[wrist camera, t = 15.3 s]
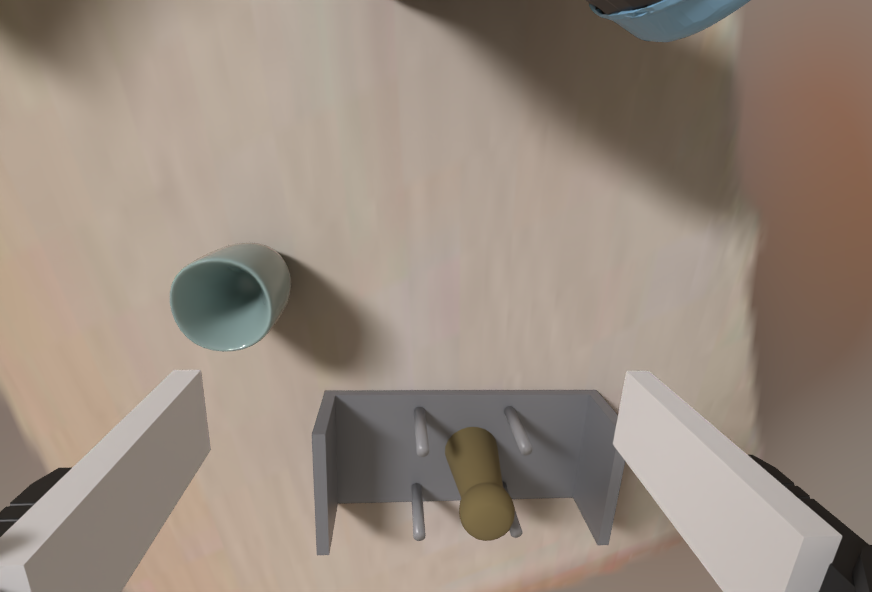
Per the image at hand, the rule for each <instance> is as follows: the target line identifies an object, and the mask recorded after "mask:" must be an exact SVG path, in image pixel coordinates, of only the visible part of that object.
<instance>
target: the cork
mask: <svg viewBox="0 0 872 592" xmlns="http://www.w3.org/2000/svg"><path fill="white" fill-rule="evenodd" d="M445 456H446V459H447V462H448V464H449V467H450V470H451V472H452V475H453V478H454V480H455V483H456V486H457V488H458V491H459V493H460V496H461V501H460V508H459V515H460V519H461V523H462V525H463V527H464V529H465V530H466V531H467V532H468V533H469V534H470V535H471V536H473V537H475V538H476V539H479V540H483V541H487V540H494V539H498V538H500V537H501V536H503V535H505V534H506V533H507V532H508V531H509V530H510V528H511V526H512V524H513V521H514V516H515V508H514V505H513V501H512V498H511V497H510V496H509V494H508V493H507V492H506V490H505V489H504V488H503V483H502V476H501V469H500V462H499V454H498V447H497V443H496V439H495V438H494V436H493V435H492V434H491V433H490V432H488V431H487V430H486V429H483V428H479V427H467V428H464V429H461V430H459V431H457V432H456V433H454V434H453V435H452V436H451V437H450V438H449V439H448V442H447V444H446V446H445Z"/></svg>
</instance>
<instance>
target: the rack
mask: <svg viewBox="0 0 872 592" xmlns="http://www.w3.org/2000/svg"><path fill="white" fill-rule="evenodd" d="M617 419H618V415H617V414H616V413H615V411H614V410H613V409H612V408H611V407H610V405H609V404H608V403H607V402H606V401H605V400H604V398H603V397H602V396H601V395H600V394H599V393H598V391H597V390H398V391H325V392H324V396H323V399H322V402H321V406H320V409H319V412H318V415H317V419H316V422H315V425H314V429H313V432H312V452H313V475H314V499H315V522H316V545H317V555H329V553H330V547H331V541H332V535H333V529H334V523H335V517H336V511H337V505H338V503H376V502H412V514H413V536H414V539H415V540H417V541H421V540H423V539H424V538H425V524H424V511H423V501H456V500H461V496H460V493H459V491H458V488H457V486H456V483H455V480H454V478H453V475H452V472H451V470H450V467H449V464H448V462H447V459H446V456H445V446H446V444H447V442H448V439H449V438H450V437H451V436H452V435H453V434H454V433H456V432H457V431H459V430H461V429H464V428H467V427H479V428H483V429H486V430H487V431H488V432H490V433H491V434H492V435H493V436H494V438H495V439H496V443H497V447H498V454H499V462H500V469H501V476H502V483H503V488H504V489H505V490H506V492H507V493H508V494H509V496H510V497H511V498H512V499H535V498H573V499H574V500H575V502H576V504H577V506H578V508H579V510H580V512H581V514H582V516H583V518H584V520H585V522H586V524H587V526H588V528H589V530H590V531H591V533H592V535H593V537H594V539H595V541H596V543H597V545H609V540H610V535H611V530H612V525H613V520H614V515H615V510H616V505H617V500H618V495H619V490H620V485H621V480H622V475H623V470H624V465H625V460H624V459H623V457H622V456H621V455H620V453H619V452H618V451H617V449H616V448H615V447H614V445H613V440H614V435H615V429H616V424H617ZM510 533H511V536H512V537H515V538H517V537H520V536H521V535H522V530H521V527H520V524H519V521H518V518H517V515H516V512H515V516H514V521H513V524H512V526H511V528H510Z"/></svg>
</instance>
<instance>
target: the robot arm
mask: <svg viewBox="0 0 872 592" xmlns="http://www.w3.org/2000/svg"><path fill="white" fill-rule="evenodd" d="M586 1H587V2H589V7H590V8H591V10H592V11H593V12H594V13H595V14H597V15H598V16H600V17H602V18H606V19H609V20H613V21H614V22H615V23H617V24H618V25H620V26H621V27H623V28H624V29H626V30H627V31H628V32H630V33H631V34H633V35H634V36H636V37H637V38H639V39H642V40H645V41H654V42H670V41H675V40H678V39H682V38H685V37H688V36H690V35H693V34H695V33H698V32H700V31H702V30H704V29H706V28H708V27H710V26H712V25H713V24H715V23H717V22H718V21H720V20H722V19H723V18H725V17H727V16H728V15H730V14H731V13H733V12H734V11H736V10H737V9H739V8H741V7H742V6H743V5H745V4H746V3H748V2H749V1H750V0H586ZM613 445H614V447H615V448H616V449H617V451H618V452H619V453H620V455H621V456H622V457H623V459H624V460H625V461H626V463H627V464H628V465H629V467H630V468H631V469H632V471H633V472H634V473H635V475H636V476H637V477H638V479H639V480H640V481H641V483H642V484H643V485H644V487H645V488H646V489H647V491H648V492H649V493H650V495H651V496H652V497H653V499H654V500H655V501H656V503H657V504H658V505H659V507H660V508H661V509H662V511H663V512H664V513H665V515H666V516H667V517H668V519H669V520H670V521H671V523H672V524H673V525H674V527H675V528H676V529H677V531H678V532H679V533H680V535H681V536H682V537H683V539H684V540H685V541H686V543H687V544H688V545H689V547H690V548H691V549H692V551H693V552H694V553H695V555H696V556H697V557H698V559H699V560H700V561H701V563H702V564H703V565H704V567H705V568H706V569H707V571H708V572H709V573H710V574H711V576H712V577H713V579H714V580H715V581H716V583H717V584H718V585H719V587H720V588H721V589H722V591H723V592H872V545H869V544H867V543H866V542H865V541H864V540H863V539H861V538H860V537H859V536H858V535H856V534H855V533H854V532H853V531H851V530H850V529H849V528H848V527H847V526H846V525H844V524H843V523H842V522H841V521H840V520H838V519H837V518H836V517H835V516H834V515H832V514H831V513H830V512H829V511H827V510H826V509H825V508H824V507H823V506H821V505H820V504H819V503H818V502H817V501H815V500H814V499H810V497H809V495H808V494H807V493H805V492H804V491H803V490H802V489H801V488H800V487H798V486H795V485H794V483H793V482H792V481H791V480H790V479H789V478H787V477H786V476H785V475H784V474H782V473H781V472H780V471H779V470H778V469H776V468H775V467H773V466H772V465H770V464H768V463H766V462H764V461H763V460H761V459H759V458H757V457H755V456H754V455H747V454H746V453H745V452H744V451H742V450H741V449H740V448H739V447H738V446H737V445H735V444H734V443H733V442H732V441H731V440H729V439H728V438H727V437H726V436H725V435H724V434H722V433H721V432H720V431H719V430H718V429H717V428H715V427H714V426H713V425H712V424H711V423H710V422H708V421H707V420H706V419H705V418H704V417H703V416H701V415H700V414H699V413H698V412H697V411H696V410H694V409H693V408H692V407H691V406H690V405H688V404H687V403H686V402H685V401H684V400H683V399H681V398H680V397H679V396H678V395H677V394H676V393H674V392H673V391H672V390H671V389H670V388H669V387H667V386H666V385H665V384H664V383H663V382H662V381H660V380H659V379H658V378H657V377H656V376H654V375H653V374H652V373H651V372H650V371H626V376H625V381H624V386H623V392H622V397H621V402H620V408H619V413H618V419H617V424H616V429H615V435H614V440H613ZM210 450H211V448H210V440H209V431H208V423H207V415H206V407H205V398H204V390H203V382H202V374H201V370H173V371H172V372H171V373H170V374H169V375H168V376H167V377H166V378H165V379H164V380H163V381H162V382H161V383H160V384H159V385H158V386H157V387H156V388H155V389H154V390H152V391H151V392H150V393H149V394H148V395H147V396H146V397H145V398H144V399H143V400H142V401H141V402H140V403H139V404H138V405H137V406H136V407H135V408H134V409H133V410H132V411H131V412H130V413H129V414H128V415H127V416H126V417H124V418H123V419H122V420H121V421H120V422H119V423H118V424H117V425H116V426H115V427H114V428H113V429H112V430H111V431H110V432H109V433H108V434H107V435H106V436H105V437H104V438H103V439H102V440H101V441H100V442H99V443H98V444H97V445H95V446H94V447H93V448H92V449H91V450H90V451H89V452H88V453H87V454H86V455H85V456H84V457H83V458H82V459H81V460H80V461H79V462H78V463H77V464H76V465H75V466H74V467H73V468H58V469H56V470H54V471H53V472H51V473H49V474H48V475H46V476H44V477H42V478H41V479H39V480H37V481H36V482H34V483H33V484H31V485H30V486H29V487H28V488H26V489H25V490H24V491H23V492H22V493H21V494H20V495H19V496H17V498H15V499H14V500H13V501H12V502H11V503H10V506H9V507H5V508H4V509H3V510H2V511H1V512H0V592H121V591H122V590H123V588H124V587H125V585H126V583H127V582H128V580H129V579H130V577H131V576H132V574H133V572H134V571H135V569H136V568H137V566H138V564H139V563H140V561H141V560H142V558H143V556H144V555H145V553H146V552H147V550H148V549H149V547H150V545H151V544H152V542H153V541H154V539H155V537H156V536H157V534H158V533H159V531H160V529H161V528H162V526H163V525H164V523H165V522H166V520H167V518H168V517H169V515H170V514H171V512H172V510H173V509H174V507H175V506H176V504H177V503H178V501H179V499H180V498H181V496H182V495H183V493H184V491H185V490H186V488H187V487H188V485H189V483H190V482H191V480H192V479H193V477H194V476H195V474H196V472H197V471H198V469H199V468H200V466H201V464H202V463H203V461H204V460H205V458H206V456H207V455H208V453H209V452H210Z"/></svg>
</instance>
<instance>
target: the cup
mask: <svg viewBox="0 0 872 592" xmlns="http://www.w3.org/2000/svg"><path fill="white" fill-rule="evenodd" d="M290 293H291V275H290V272H289V268H288V266H287V264H286V262H285V261H284V259H283V258H282V257H281V255H280V254H279V253H277V252H276V251H275V250H274V249H272V248H270V247H268V246H266V245H263V244H258V243H237V244H232V245H228V246H225V247H222V248H220V249H217V250H215V251H212V252H210V253H208V254H206V255H204V256H202V257H200V258H198V259H196V260H195V261H193V262H192V263H190V264H188V265H187V266H185V267H184V268H183V269H182V270H181V271H180V272H179V273H178V274H177V275H176V277H175V279H174V281H173V283H172V286H171V290H170V306H171V311H172V314H173V317H174V319H175V322H176V323H177V325H178V327H179V328H180V330H181V331H182V332H183V333H184V335H185V336H186V337H187V338H188V339H190V340H191V341H192V342H194V343H195V344H197V345H199V346H201V347H203V348H206V349H210V350H214V351H223V352H224V351H236V350H241V349H245V348H247V347H250V346H252V345H254V344H256V343H257V342H259V341H261V340H262V339H263V338H264V337H265V336H266V335H267V334H268V333H269V331H270V330H271V329H272V328H273V326H274V325H275V323H276V322H277V321H278V319H279V317H280V316H281V314H282V313H283V311H284V309H285V307H286V305H287V303H288V300H289V297H290Z"/></svg>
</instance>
